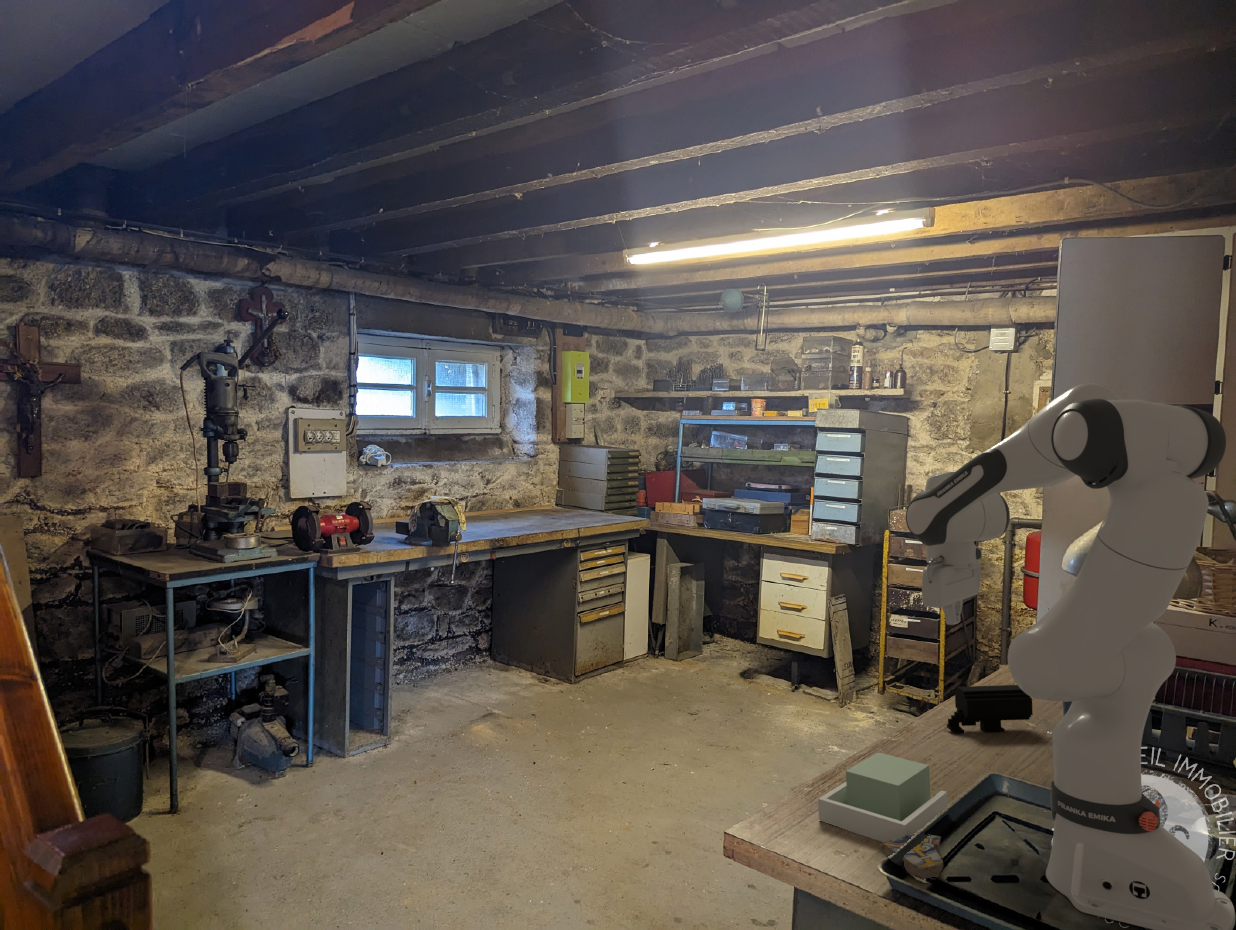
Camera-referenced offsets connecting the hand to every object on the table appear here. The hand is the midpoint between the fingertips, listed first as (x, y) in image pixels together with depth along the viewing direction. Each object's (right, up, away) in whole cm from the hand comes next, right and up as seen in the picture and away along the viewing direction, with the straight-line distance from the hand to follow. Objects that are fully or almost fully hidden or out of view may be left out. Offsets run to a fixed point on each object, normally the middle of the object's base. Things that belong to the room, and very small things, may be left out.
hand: (953, 623), depth 152 cm
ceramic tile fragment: (-20, -32, -31) cm, 49 cm away
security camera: (+20, -31, +27) cm, 45 cm away
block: (-17, -32, -12) cm, 38 cm away
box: (-19, -32, -15) cm, 40 cm away
